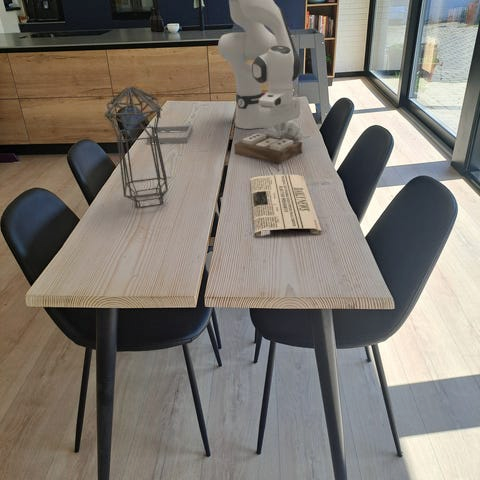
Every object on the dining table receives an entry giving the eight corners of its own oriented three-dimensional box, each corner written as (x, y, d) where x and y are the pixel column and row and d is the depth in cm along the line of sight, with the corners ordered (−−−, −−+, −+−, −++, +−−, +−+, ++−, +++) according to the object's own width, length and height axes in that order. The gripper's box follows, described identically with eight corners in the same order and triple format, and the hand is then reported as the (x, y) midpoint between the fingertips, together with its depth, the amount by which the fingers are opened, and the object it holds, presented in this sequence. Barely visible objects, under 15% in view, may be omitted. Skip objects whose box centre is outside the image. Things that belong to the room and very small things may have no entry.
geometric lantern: (123, 215, 136) (99, 95, 118) (124, 193, 149) (103, 83, 131) (175, 208, 138) (160, 90, 120) (172, 188, 151) (157, 78, 134)
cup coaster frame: (155, 132, 207) (154, 126, 206) (192, 130, 206) (192, 125, 205) (147, 144, 192) (146, 138, 191) (187, 143, 191) (186, 137, 190)
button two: (283, 146, 175) (283, 138, 173) (293, 148, 173) (293, 140, 171) (269, 152, 169) (269, 144, 168) (279, 155, 167) (279, 146, 165)
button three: (257, 140, 183) (257, 132, 181) (266, 142, 180) (265, 134, 178) (243, 146, 177) (242, 138, 175) (251, 148, 174) (251, 140, 173)
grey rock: (273, 141, 190) (279, 127, 181) (279, 126, 193) (285, 111, 185) (292, 148, 190) (298, 134, 181) (297, 133, 194) (303, 118, 185)
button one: (270, 145, 179) (270, 137, 178) (279, 147, 177) (279, 139, 175) (256, 151, 174) (255, 143, 172) (265, 154, 171) (265, 146, 169)
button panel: (258, 143, 187) (258, 133, 185) (301, 152, 175) (301, 142, 173) (234, 153, 177) (234, 143, 175) (278, 164, 165) (278, 153, 163)
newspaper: (250, 183, 153) (250, 176, 151) (308, 181, 152) (308, 173, 151) (254, 239, 121) (254, 230, 119) (327, 235, 120) (328, 226, 119)
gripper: (290, 90, 169) (290, 127, 176) (255, 100, 156) (256, 140, 163) (304, 91, 165) (303, 129, 172) (270, 102, 152) (270, 143, 159)
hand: (280, 134), depth 167 cm, fingers closed
